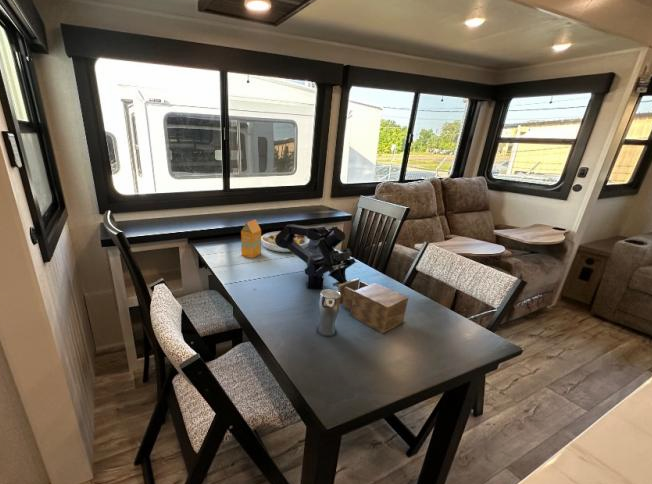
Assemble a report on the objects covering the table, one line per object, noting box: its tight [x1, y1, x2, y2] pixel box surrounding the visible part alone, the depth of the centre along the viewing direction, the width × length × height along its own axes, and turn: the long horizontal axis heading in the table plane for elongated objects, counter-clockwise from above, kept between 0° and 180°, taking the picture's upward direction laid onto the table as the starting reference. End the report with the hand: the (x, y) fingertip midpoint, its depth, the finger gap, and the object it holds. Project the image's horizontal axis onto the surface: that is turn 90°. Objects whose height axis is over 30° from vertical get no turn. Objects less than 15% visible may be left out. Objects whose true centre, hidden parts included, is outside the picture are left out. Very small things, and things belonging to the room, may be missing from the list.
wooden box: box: [350, 282, 409, 334], centre depth 116 cm, size 15×13×11 cm
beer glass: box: [317, 288, 341, 337], centre depth 107 cm, size 7×7×15 cm
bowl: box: [261, 230, 311, 253], centre depth 193 cm, size 30×30×8 cm
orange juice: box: [240, 218, 262, 259], centre depth 175 cm, size 8×9×20 cm
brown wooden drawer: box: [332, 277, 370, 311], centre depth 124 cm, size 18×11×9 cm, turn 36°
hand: (345, 285), depth 127 cm, fingers closed, pressing on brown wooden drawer
